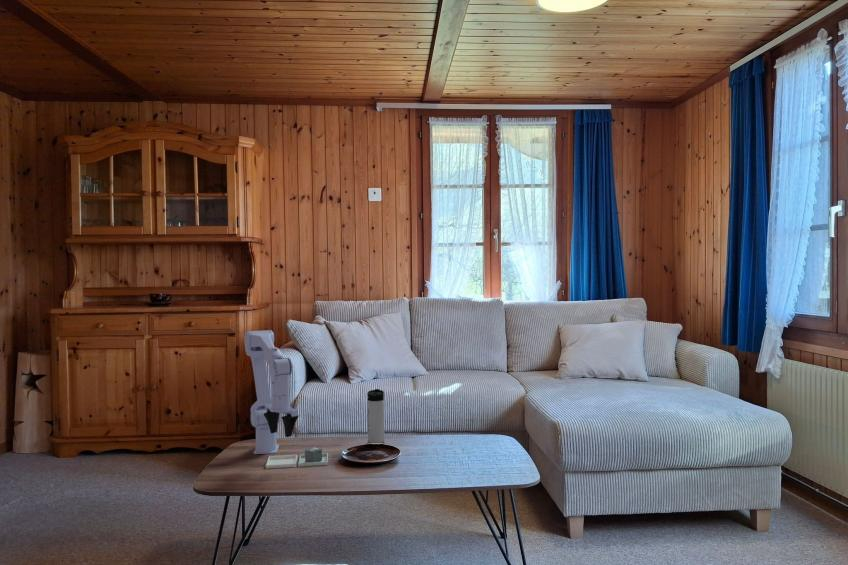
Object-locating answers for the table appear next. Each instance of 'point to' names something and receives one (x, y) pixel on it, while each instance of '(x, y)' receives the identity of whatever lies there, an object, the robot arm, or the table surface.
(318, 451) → the letter cube
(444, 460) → the table surface
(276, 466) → the tray
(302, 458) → the tray
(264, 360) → the robot arm
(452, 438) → the table surface
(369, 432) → the travel mug
